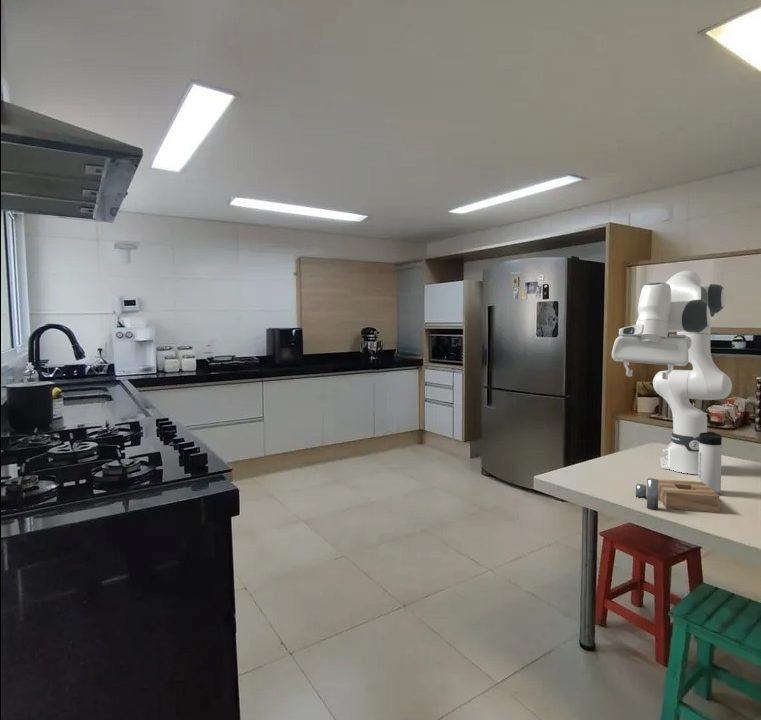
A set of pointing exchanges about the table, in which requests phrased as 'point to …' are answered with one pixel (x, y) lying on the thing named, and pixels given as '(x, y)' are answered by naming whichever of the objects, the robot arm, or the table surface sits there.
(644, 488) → the short pin
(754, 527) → the table surface
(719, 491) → the travel mug
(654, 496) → the tall pin
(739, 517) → the table surface
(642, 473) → the table surface
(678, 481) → the hole block
